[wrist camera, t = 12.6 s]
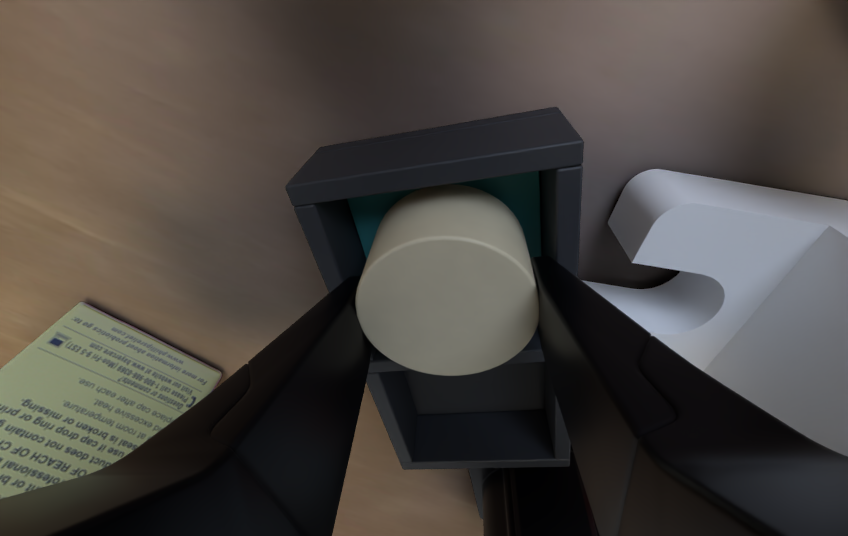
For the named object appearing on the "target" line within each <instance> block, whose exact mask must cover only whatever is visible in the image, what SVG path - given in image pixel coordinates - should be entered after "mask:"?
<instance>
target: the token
mask: <svg viewBox="0 0 848 536" xmlns="http://www.w3.org/2000/svg"><path fill="white" fill-rule="evenodd" d="M355 306H356V313H357V317H358V320H359V322H360V325H361V327H362V330H363V332H364V334H365V335H366V337H367V338H368V340H369V341H370V342H371V343H372V344H373V345H374V347H376V348H377V349H378V350H379V351H380V352H381V353H382V354H384V355H385V356H386V357H388V358H389V359H391V360H393V361H394V362H396V363H398V364H400V365H402V366H405V367H407V368H410V369H413V370H415V371H419V372H423V373H427V374H433V375H443V376H460V375H469V374H475V373H480V372H483V371H486V370H490V369H492V368H495V367H497V366H499V365H501V364H503V363H505V362H507V361H508V360H510V359H511V358H513V357H514V356H516V355H517V354H518V353H519V352H520V351H521V350H522V349H523V348H524V347H525V346H526V345H527V344H528V343H529V341H530V340H531V338H532V337H533V335H534V333H535V331H536V328H537V326H538V323H539V295H538V288H537V284H536V280H535V276H534V272H533V268H532V264H531V259H530V255H529V252H528V248H527V244H526V240H525V236H524V233H523V229H522V227H521V225H520V223H519V221H518V219H517V218H516V216H515V215H514V213H513V212H512V211H511V210H510V209H509V208H508V207H507V206H506V205H505V204H504V203H503V202H501V201H500V200H499V199H497V198H496V197H494V196H492V195H491V194H489V193H487V192H484V191H482V190H480V189H476V188H473V187H469V186H464V185H455V184H445V185H438V186H431V187H425V188H423V189H420V190H417V191H414V192H412V193H410V194H408V195H406V196H405V197H403V198H402V199H401V200H399V201H398V202H397V203H395V204H394V205H393V206H392V207H391V208H390V209H389V211H388V212H387V213H386V214H385V216H384V217H383V219H382V221H381V222H380V225H379V227H378V229H377V232H376V235H375V238H374V241H373V244H372V247H371V249H370V252H369V255H368V258H367V261H366V264H365V267H364V270H363V273H362V275H361V278H360V281H359V284H358V287H357V292H356V299H355Z"/></svg>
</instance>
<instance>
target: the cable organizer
mask: <svg viewBox="0 0 848 536" xmlns="http://www.w3.org/2000/svg"><path fill="white" fill-rule="evenodd" d="M608 225H609V227H610V228H611V230H612V231H613V233H614V235H615V236H616V238H617V240H618V241H619V243H620V245H621V246H622V248H623V249H624V251H625V253H626V254H627V256H628V258H629V259H630V261H631V262H632V263H636V264H642V265H648V266H654V267H661V268H667V269H673V270H679V271H680V273H679V274H678V275H677V276H675V277H674V278H673V279H671V280H670V281H668V282H666V283H664V284H663V285H660V286H657V287H654V288H649V289H632V288H626V287H620V286H614V285H608V284H602V283H595V282H589V281H583V280H582V281H583V282H584V283H586V284H587V285H588V286H589V287H591V288H592V289H593V290H595V291H596V292H597V293H599V294H600V295H601V296H602V297H604V298H605V299H606V300H608V301H609V302H610V303H612V304H613V305H614V306H616V307H617V308H618V309H619V310H621V311H622V312H623V313H625V314H626V315H627V316H629V317H630V318H631V319H633V320H634V321H635V322H636V323H638V324H639V325H640V326H642V327H643V328H644V329H646V330H647V331H648V332H649V333H651V336H655V337H656V338H658V339H659V340H660V341H661V342H663V343H664V344H665V345H667V346H668V347H669V348H671V349H672V350H674V351H675V352H676V353H678V354H679V355H680V356H682V357H683V358H685V359H686V360H687V361H689V362H690V363H691V364H693V365H694V366H696V367H697V368H699V369H700V370H702V371H704V372H705V373H707V374H708V375H710V376H711V377H713V378H714V379H716V380H717V381H719V382H720V383H722V384H723V385H725V386H727V387H728V388H730V389H731V390H733V391H734V392H736V393H738V394H739V395H741V396H742V397H744V398H746V399H747V400H749V401H750V402H752V403H753V404H755V405H757V406H758V407H760V408H761V409H763V410H765V411H766V412H768V413H769V414H771V415H772V416H774V417H776V418H777V419H779V420H780V421H782V422H784V423H785V424H787V425H788V426H790V427H792V428H793V429H795V430H796V431H798V432H800V433H801V434H803V435H805V436H806V437H808V438H810V439H811V440H813V441H815V442H817V443H819V444H821V445H823V446H825V447H827V448H829V449H831V450H833V451H836V452H838V453H840V454H843V455H845V456H848V201H847V200H841V199H835V198H829V197H823V196H817V195H811V194H805V193H799V192H793V191H787V190H782V189H776V188H770V187H764V186H758V185H752V184H746V183H740V182H734V181H728V180H722V179H716V178H710V177H704V176H698V175H692V174H686V173H680V172H674V171H668V170H662V169H651V170H647V171H644V172H641V173H639V174H638V175H636V176H635V177H633V178H632V179H631V180H630V181H629V182H628V183H627V184H626V186H625V187H624V189H623V191H622V193H621V195H620V197H619V200H618V202H617V204H616V206H615V208H614V210H613V212H612V214H611V216H610V218H609V220H608Z"/></svg>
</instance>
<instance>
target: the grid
mask: <svg viewBox="0 0 848 536" xmlns="http://www.w3.org/2000/svg"><path fill="white" fill-rule="evenodd" d="M583 148H584V141H583V139H582V138H581V137H580V136H579V134H578V133H577V132H576V130H575V129H574V128H573V127H572V125H571V124H570V123H569V122H568V120H567V119H566V118H565V116H564V115H563V114H562V113H561V111H560V110H559V109H558V108H557V107H553V108H547V109H541V110H536V111H530V112H524V113H518V114H512V115H506V116H500V117H494V118H489V119H483V120H477V121H471V122H465V123H459V124H453V125H448V126H442V127H436V128H430V129H424V130H418V131H412V132H406V133H401V134H395V135H389V136H383V137H377V138H371V139H365V140H360V141H354V142H348V143H342V144H336V145H330V146H324V147H320V148H319V149H318V150H317V151H316V152H315V154H314V155H313V156H312V157H311V158H310V159H309V160H308V161H307V162H306V163H305V165H304V166H303V167H302V168H301V169H300V170H299V171H298V172H297V174H296V175H295V176H294V177H293V178H292V179H291V180H290V181H289V183H288V184H287V185H286V186H285V188H286V191H287V193H288V196H289V198H290V200H291V203H292V205H293V206H295V207H294V210H295V212H296V215H297V217H298V220H299V222H300V224H301V227H302V229H303V231H304V234H305V236H306V239H307V241H308V243H309V246H310V248H311V251H312V253H313V255H314V258H315V260H316V263H317V265H318V267H319V270H320V272H321V275H322V277H323V279H324V282H325V284H326V286H327V289H328V291H329V293H330V292H331V291H333V290H334V289H335V288H336V287H337V286H339V285H340V284H341V283H342V282H343V281H344V280H346V279H347V278H348V277H351V276H360V275H362V273H363V270H364V267H365V264H366V261H367V258H368V255H369V252H370V249H371V247H372V244H373V241H374V238H375V235H376V232H377V229H378V227H379V225H380V222H381V221H382V219H383V217H384V216H385V214H386V213H387V212H388V211H389V209H390V208H391V207H392V206H393V205H394V204H395V203H397V202H398V201H399V200H401V199H402V198H403V197H405V196H406V195H408V194H410V193H412V192H414V191H417V190H420V189H423V188H425V187H431V186H438V185H445V184H455V185H464V186H469V187H473V188H476V189H480V190H482V191H484V192H487V193H489V194H491V195H492V196H494V197H496V198H497V199H499V200H500V201H501V202H503V203H504V204H505V205H506V206H507V207H508V208H509V209H510V210H511V211H512V212H513V213H514V215H515V216H516V218H517V219H518V221H519V223H520V225H521V227H522V229H523V233H524V236H525V240H526V244H527V248H528V252H529V255H530V259H531V258H532V257H538V256H550V257H552V258H553V259H554V260H555V261H557V262H558V263H559V264H561V265H562V266H563V267H565V268H566V269H567V270H569V271H570V272H571V273H572V274H574V275H575V276H576V277H578V263H579V240H580V217H581V194H582V171H583V167H582V165H581V164H582V163H583ZM366 382H367V385H368V387H369V389H370V392H371V394H372V396H373V399H374V401H375V404H376V406H377V408H378V411H379V413H380V416H381V418H382V420H383V423H384V425H385V428H386V430H387V432H388V435H389V437H390V440H391V442H392V444H393V447H394V449H395V451H396V454H397V456H398V459H399V461H400V463H401V466H402V468H403V469H404V470H405V469H462V468H518V467H568V466H569V465H570V446H571V442H570V439H569V436H568V433H567V429H566V426H565V423H564V420H563V417H562V413H561V410H560V407H559V404H558V401H557V397H556V394H555V391H554V388H553V385H552V381H551V378H550V375H549V372H548V369H547V365H546V362H545V359H544V355H543V352H542V348H541V343H540V338H539V332H538V326H537V328H536V331H535V333H534V335H533V337H532V338H531V340H530V341H529V343H528V344H527V345H526V346H525V347H524V348H523V349H522V350H521V351H520V352H519V353H518V354H517V355H516V356H514V357H513V358H511V359H510V360H508V361H507V362H505V363H503V364H501V365H499V366H497V367H495V368H492V369H490V370H486V371H483V372H480V373H475V374H469V375H460V376H443V375H433V374H427V373H423V372H419V371H415V370H413V369H410V368H407V367H405V366H402V365H400V364H398V363H396V362H394V361H393V360H391V359H389V358H388V357H386V356H385V355H384V354H382V353H381V352H380V351H379V350H378V349H377V348H376V347H374V345H373V344H372V350H371V358H370V365H369V370H368V374H367V379H366Z"/></svg>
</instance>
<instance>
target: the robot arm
mask: <svg viewBox="0 0 848 536" xmlns="http://www.w3.org/2000/svg"><path fill="white" fill-rule="evenodd" d="M531 264H532V268H533V272H534V276H535V280H536V284H537V288H538V295H539V323H538V332H539V338H540V343H541V348H542V352H543V355H544V359H545V362H546V365H547V369H548V372H549V375H550V378H551V381H552V385H553V388H554V391H555V394H556V397H557V401H558V404H559V407H560V410H561V413H562V417H563V420H564V423H565V426H566V429H567V433H568V436H569V439H570V442H571V446H570V465H569V466H568V467H518V468H468V469H469V473H470V477H471V481H472V486H473V490H474V494H475V498H476V502H477V507H478V511H479V515H480V518H481V519H483V526H484V536H848V456H845V455H843V454H840V453H838V452H836V451H833V450H831V449H829V448H827V447H825V446H823V445H821V444H819V443H817V442H815V441H813V440H811V439H810V438H808V437H806V436H805V435H803V434H801V433H800V432H798V431H796V430H795V429H793V428H792V427H790V426H788V425H787V424H785V423H784V422H782V421H780V420H779V419H777V418H776V417H774V416H772V415H771V414H769V413H768V412H766V411H765V410H763V409H761V408H760V407H758V406H757V405H755V404H753V403H752V402H750V401H749V400H747V399H746V398H744V397H742V396H741V395H739V394H738V393H736V392H734V391H733V390H731V389H730V388H728V387H727V386H725V385H723V384H722V383H720V382H719V381H717V380H716V379H714V378H713V377H711V376H710V375H708V374H707V373H705V372H704V371H702V370H700V369H699V368H697V367H696V366H694V365H693V364H691V363H690V362H689V361H687V360H686V359H685V358H683V357H682V356H680V355H679V354H678V353H676V352H675V351H674V350H672V349H671V348H669V347H668V346H667V345H665V344H664V343H663V342H661V341H660V340H659V339H658V338H656V337H655V336H651V333H649V332H648V331H647V330H646V329H644V328H643V327H642V326H640V325H639V324H638V323H636V322H635V321H634V320H633V319H631V318H630V317H629V316H627V315H626V314H625V313H623V312H622V311H621V310H619V309H618V308H617V307H616V306H614V305H613V304H612V303H610V302H609V301H608V300H606V299H605V298H604V297H602V296H601V295H600V294H599V293H597V292H596V291H595V290H593V289H592V288H591V287H589V286H588V285H587V284H586V283H584V282H583V281H582V280H580V279H579V278H578V277H576V276H575V275H574V274H572V273H571V272H570V271H569V270H567V269H566V268H565V267H563V266H562V265H561V264H559V263H558V262H557V261H555V260H554V259H553V258H552V257H550V256H538V257H532V258H531ZM360 278H361V275H360V276H351V277H348V278H347V279H346V280H344V281H343V282H342V283H341V284H340V285H339V286H337V287H336V288H335V289H334V290H333V291H331V292H330V293H329V294H328V295H327V296H326V297H324V298H323V299H322V300H321V301H320V302H318V303H317V304H316V305H315V306H314V307H313V308H311V309H310V310H309V311H308V312H307V313H305V314H304V315H303V316H302V317H301V318H300V319H298V320H297V321H296V322H295V323H294V324H292V325H291V326H290V327H289V328H288V329H286V330H285V331H284V332H283V333H282V334H281V335H279V336H278V337H277V338H276V339H275V340H273V341H272V342H271V343H270V344H269V345H268V346H266V347H265V348H264V349H263V350H262V351H260V352H259V353H258V354H257V355H256V356H254V357H253V358H252V359H251V360H250V361H249V362H248V364H245V365H244V366H243V367H241V368H240V369H239V370H238V371H237V372H235V373H234V374H233V375H232V376H231V377H229V378H228V379H227V380H226V381H225V382H223V383H222V384H221V385H220V386H218V387H217V388H216V389H215V390H214V391H212V392H211V393H210V394H208V395H207V396H206V397H204V398H203V399H202V400H200V401H199V402H198V403H196V404H195V405H194V406H193V407H191V408H190V409H189V410H187V411H186V412H184V413H183V414H182V415H180V416H179V417H178V418H176V419H175V420H174V421H172V422H171V423H170V424H168V425H167V426H166V427H164V428H163V429H162V430H160V431H159V432H157V433H156V434H155V435H153V436H152V437H151V438H149V439H148V440H147V441H145V442H144V443H143V444H141V445H140V446H139V447H137V448H136V449H135V450H133V451H132V452H130V453H129V454H127V455H126V456H124V457H123V458H121V459H120V460H118V461H116V462H114V463H113V464H111V465H109V466H107V467H104V468H102V469H100V470H98V471H95V472H93V473H90V474H88V475H84V476H81V477H78V478H74V479H71V480H67V481H63V482H60V483H56V484H53V485H49V486H46V487H42V488H38V489H35V490H31V491H28V492H24V493H20V494H17V495H13V496H10V497H6V498H2V499H0V536H332V533H333V528H334V524H335V519H336V515H337V510H338V505H339V501H340V496H341V492H342V487H343V483H344V478H345V474H346V469H347V465H348V460H349V456H350V451H351V447H352V442H353V438H354V433H355V429H356V424H357V420H358V415H359V411H360V406H361V402H362V397H363V393H364V388H365V384H366V379H367V374H368V370H369V365H370V358H371V350H372V343H371V342H370V341H369V340H368V338H367V337H366V335H365V334H364V332H363V330H362V327H361V325H360V322H359V320H358V317H357V313H356V306H355V299H356V292H357V287H358V284H359V281H360Z"/></svg>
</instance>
